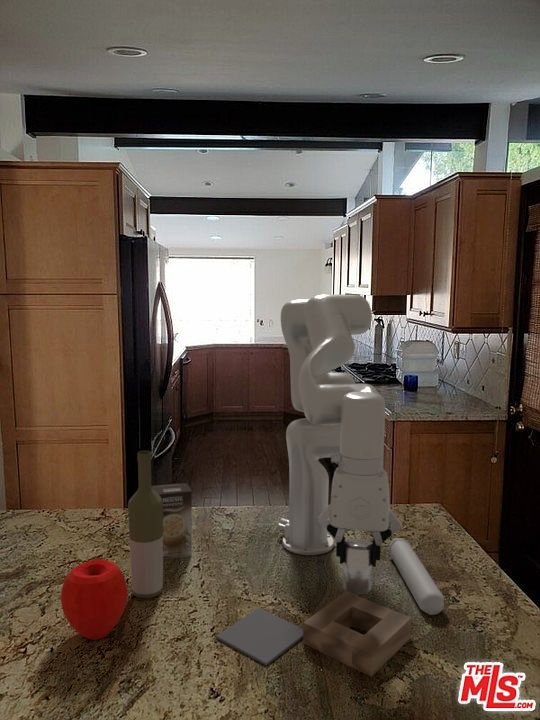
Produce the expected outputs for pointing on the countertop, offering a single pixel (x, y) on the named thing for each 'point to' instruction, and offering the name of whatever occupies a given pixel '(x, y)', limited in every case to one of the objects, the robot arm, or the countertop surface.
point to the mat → (261, 636)
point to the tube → (416, 577)
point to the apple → (94, 597)
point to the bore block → (352, 647)
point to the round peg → (357, 566)
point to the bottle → (146, 533)
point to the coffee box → (176, 519)
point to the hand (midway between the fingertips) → (357, 560)
